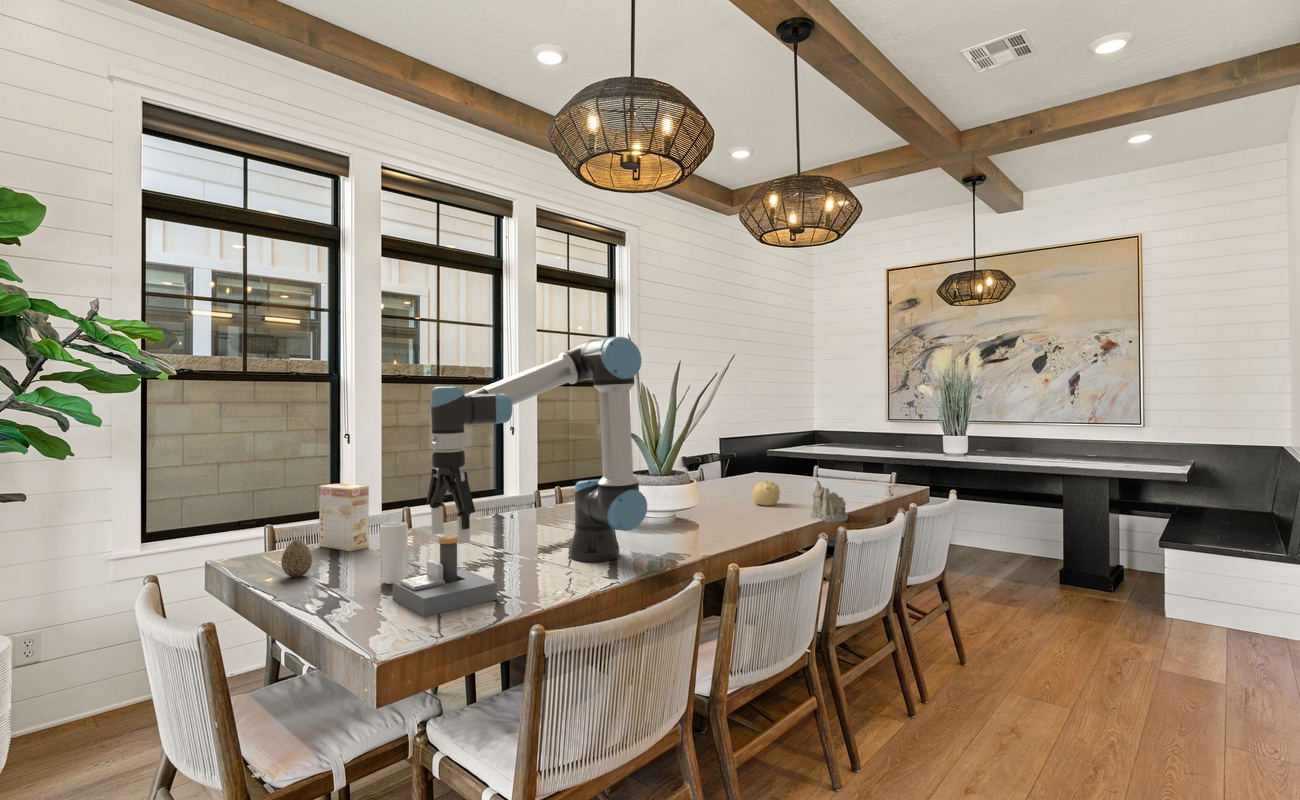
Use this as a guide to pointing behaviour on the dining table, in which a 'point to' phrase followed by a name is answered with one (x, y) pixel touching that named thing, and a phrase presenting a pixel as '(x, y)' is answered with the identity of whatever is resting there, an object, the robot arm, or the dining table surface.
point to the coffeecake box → (344, 516)
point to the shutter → (426, 577)
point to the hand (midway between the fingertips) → (450, 538)
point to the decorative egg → (296, 559)
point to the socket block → (447, 594)
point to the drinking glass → (393, 550)
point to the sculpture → (766, 493)
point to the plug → (449, 557)
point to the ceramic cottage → (828, 505)
